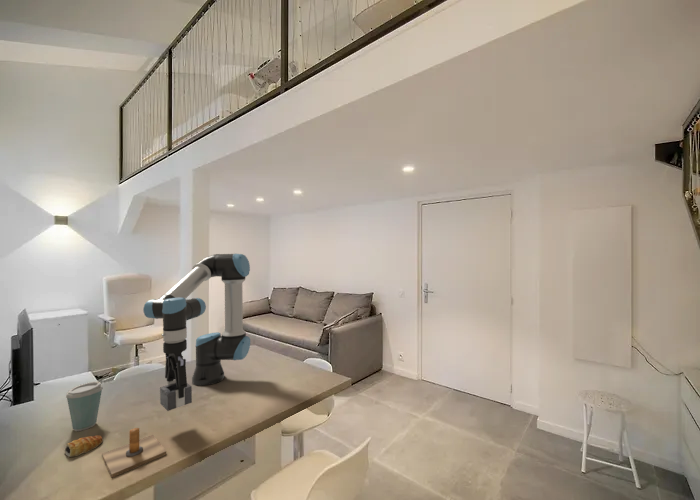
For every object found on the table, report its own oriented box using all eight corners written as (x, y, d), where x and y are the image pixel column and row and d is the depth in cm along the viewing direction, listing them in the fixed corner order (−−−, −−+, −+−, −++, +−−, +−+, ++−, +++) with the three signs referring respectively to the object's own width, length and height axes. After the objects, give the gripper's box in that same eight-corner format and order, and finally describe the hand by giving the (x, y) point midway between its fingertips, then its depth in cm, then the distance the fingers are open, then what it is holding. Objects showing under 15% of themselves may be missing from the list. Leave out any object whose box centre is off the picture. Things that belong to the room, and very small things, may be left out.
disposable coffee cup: (71, 437, 108) (71, 394, 108) (60, 429, 114) (61, 388, 114) (107, 423, 117) (107, 383, 117) (95, 416, 123) (96, 378, 123)
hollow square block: (160, 403, 113) (160, 387, 113) (183, 395, 119) (183, 380, 119) (167, 411, 108) (167, 393, 108) (191, 402, 114) (191, 386, 114)
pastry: (97, 439, 108) (97, 427, 108) (106, 444, 104) (106, 433, 104) (62, 453, 100) (62, 441, 100) (70, 460, 96) (70, 448, 96)
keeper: (102, 457, 97) (102, 431, 97) (153, 437, 107) (153, 414, 108) (111, 477, 88) (111, 449, 88) (166, 454, 98) (166, 428, 98)
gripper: (154, 337, 118) (155, 397, 118) (173, 348, 104) (174, 416, 104) (176, 333, 123) (177, 390, 123) (197, 343, 109) (198, 407, 109)
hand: (176, 402), depth 113 cm, fingers closed on hollow square block, 8 cm apart
